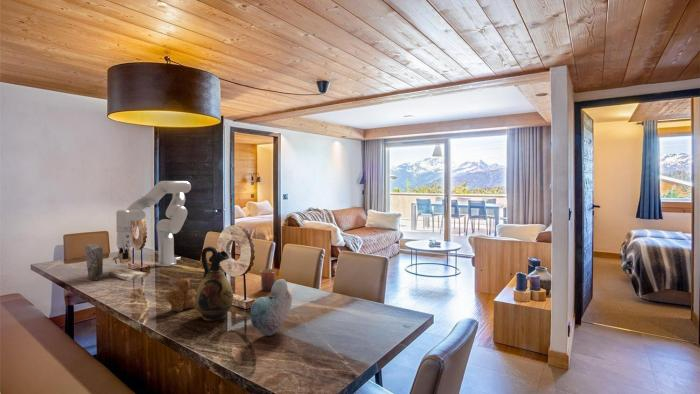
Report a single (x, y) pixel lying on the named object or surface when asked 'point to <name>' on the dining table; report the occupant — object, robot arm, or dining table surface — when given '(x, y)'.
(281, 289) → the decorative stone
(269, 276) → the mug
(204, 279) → the ceramic jug
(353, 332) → the dining table surface
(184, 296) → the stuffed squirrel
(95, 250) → the stone block
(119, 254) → the marking gauge
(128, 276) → the birch board
